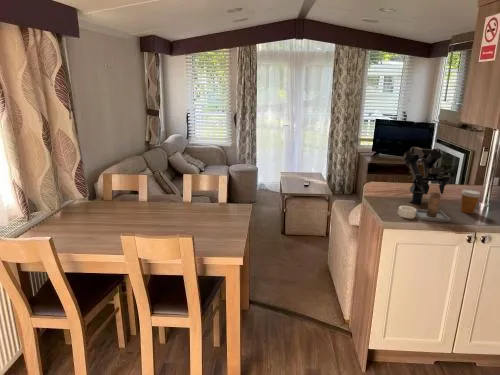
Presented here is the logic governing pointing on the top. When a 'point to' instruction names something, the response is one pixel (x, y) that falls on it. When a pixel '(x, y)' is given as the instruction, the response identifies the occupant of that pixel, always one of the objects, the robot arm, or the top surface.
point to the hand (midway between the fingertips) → (433, 193)
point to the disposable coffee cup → (469, 200)
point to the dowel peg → (433, 204)
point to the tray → (439, 217)
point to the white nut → (407, 212)
